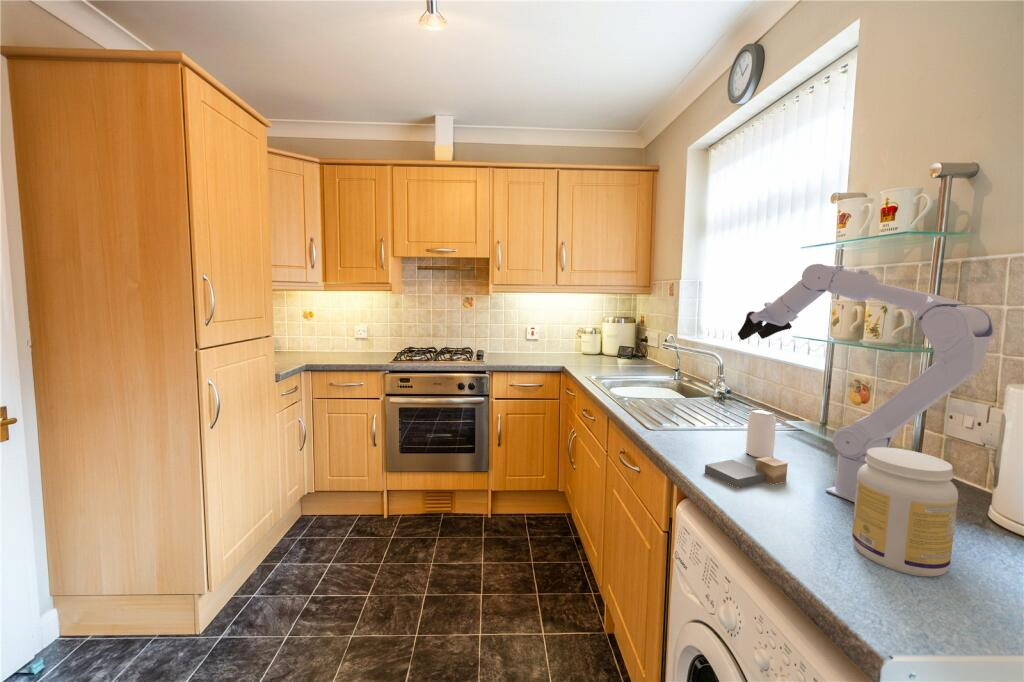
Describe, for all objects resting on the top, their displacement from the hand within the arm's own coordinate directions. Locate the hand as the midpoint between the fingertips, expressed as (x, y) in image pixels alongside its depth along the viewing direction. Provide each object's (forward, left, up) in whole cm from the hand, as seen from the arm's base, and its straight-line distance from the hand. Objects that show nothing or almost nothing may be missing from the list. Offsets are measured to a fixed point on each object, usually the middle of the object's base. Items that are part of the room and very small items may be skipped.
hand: (750, 336), depth 116 cm
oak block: (-15, +9, -32) cm, 36 cm away
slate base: (-11, +16, -32) cm, 37 cm away
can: (-3, -3, -32) cm, 32 cm away
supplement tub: (-44, +18, -32) cm, 57 cm away
